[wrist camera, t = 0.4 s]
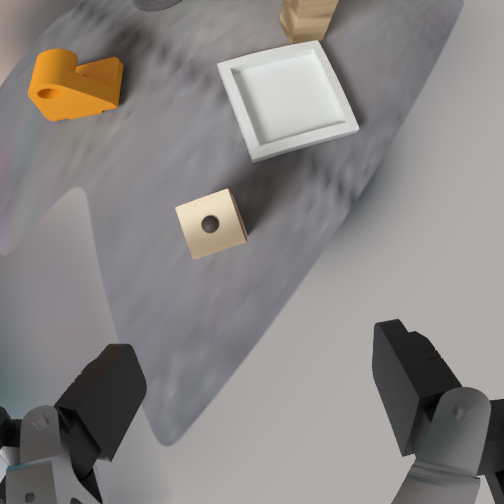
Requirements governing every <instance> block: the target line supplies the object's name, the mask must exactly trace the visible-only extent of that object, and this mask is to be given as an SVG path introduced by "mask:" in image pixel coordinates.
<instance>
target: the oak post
mask: <svg viewBox="0 0 504 504" xmlns="http://www.w3.org/2000/svg"><path fill="white" fill-rule="evenodd" d="M338 1H339V0H283V2H282V9H281V16H280V24H281V26H282V28H283V30H284V32H285V33H286V35H287V37H288V39H289V41H290V43H291V45H293V44H298V43H304V42H309V41H315V40H318V41H322V40H323V38H324V36H325V33H326V31H327V28H328V26H329V23H330V21H331V18H332V16H333V13H334V11H335V8H336V6H337V3H338Z"/></svg>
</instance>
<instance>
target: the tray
mask: <svg viewBox="0 0 504 504" xmlns="http://www.w3.org/2000/svg"><path fill="white" fill-rule="evenodd" d="M217 65H218V69H219V73H220V76H221V79H222V81H223V84H224V86H225V89H226V92H227V94H228V97H229V100H230V102H231V105H232V108H233V110H234V113H235V116H236V119H237V121H238V124H239V127H240V129H241V132H242V135H243V138H244V140H245V143H246V146H247V149H248V152H249V154H250V157H251V160H252V163H253V164H254V163H257V162H260V161H263V160H266V159H269V158H272V157H276V156H279V155H282V154H285V153H289V152H292V151H295V150H299V149H302V148H306V147H309V146H313V145H316V144H320V143H323V142H327V141H331V140H335V139H338V138H342V137H346V136H350V135H354V134H355V133H356V132H357V131H358V130H359V126H358V124H357V121H356V119H355V117H354V114H353V112H352V110H351V107H350V105H349V103H348V100H347V98H346V96H345V94H344V91H343V89H342V87H341V85H340V83H339V81H338V79H337V76H336V74H335V72H334V70H333V68H332V66H331V64H330V62H329V60H328V58H327V56H326V54H325V52H324V51H323V49H322V47H321V45H320V43H319V41H318V40H315V41H309V42H304V43H298V44H293V45H288V46H283V47H278V48H274V49H270V50H265V51H261V52H257V53H253V54H249V55H246V56H242V57H238V58H235V59H231V60H228V61H225V62H221V63H218V64H217Z"/></svg>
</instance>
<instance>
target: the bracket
mask: <svg viewBox="0 0 504 504" xmlns="http://www.w3.org/2000/svg"><path fill="white" fill-rule="evenodd" d="M77 62H78V57H77V55H76V54H75V53H73V52H71V51H69V50H65V49H51V50H47V51H44V52H43V53H41V54H40V55H39V56H38V57H37V61H36V64H35V68H34V71H33V75H32V79H31V83H30V88H29V92H28V95H29V97H30V98H31V100H32V101H33V102H34V103H35V105H36V106H37V107H38V108H39V110H40V111H41V112H42V113H43V115H44V116H45V117H46V118H47V119H49V120H51V121H53V122H54V121H58V120H62V119H66V118H68V119H75V118H79V117H84V116H89V115H94V114H99V113H103V111H104V110H109V109H114V108H118V103H119V95H120V88H121V81H122V74H123V68H124V66H123V64H122V63H121V62H120V60H119V59H118V58H117V57H111V58H107V59H103V60H98V61H95V62H91V63H87V64H83V65H80V66H77Z"/></svg>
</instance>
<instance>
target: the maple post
mask: <svg viewBox="0 0 504 504" xmlns="http://www.w3.org/2000/svg"><path fill="white" fill-rule="evenodd" d="M176 211H177V214H178V217H179V220H180V223H181V226H182V229H183V232H184V235H185V238H186V241H187V244H188V247H189V249H190V252H191V255H192V258H193V260H195V259H198V258H201V257H204V256H207V255H210V254H213V253H216V252H218V251H221V250H224V249H227V248H230V247H233V246H236V245H239V244H242V243H245V242H247V237H248V235H247V232H246V229H245V226H244V223H243V220H242V217H241V214H240V212H239V209H238V206H237V203H236V200H235V198H234V197H233V195H232V194H231V191H230V190H229V189H225V190H222V191H219V192H216V193H213V194H211V195H208V196H205V197H202V198H200V199H197V200H194V201H192V202H189V203H186V204H184V205H181V206H178V207H176Z"/></svg>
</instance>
